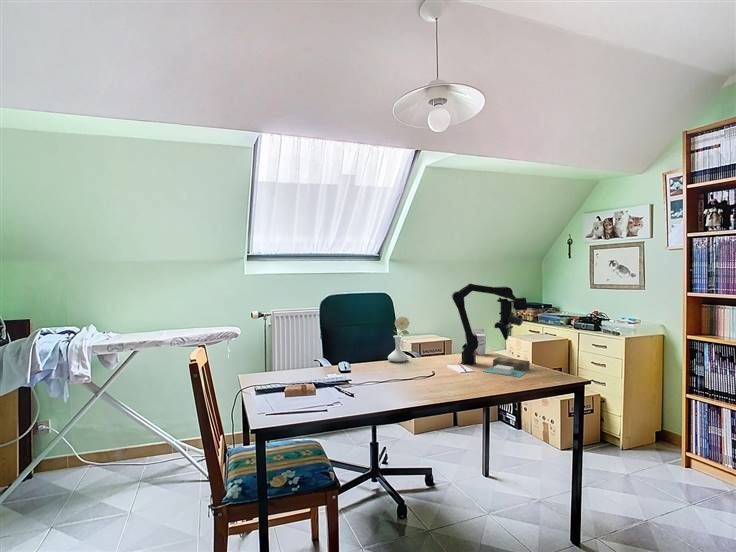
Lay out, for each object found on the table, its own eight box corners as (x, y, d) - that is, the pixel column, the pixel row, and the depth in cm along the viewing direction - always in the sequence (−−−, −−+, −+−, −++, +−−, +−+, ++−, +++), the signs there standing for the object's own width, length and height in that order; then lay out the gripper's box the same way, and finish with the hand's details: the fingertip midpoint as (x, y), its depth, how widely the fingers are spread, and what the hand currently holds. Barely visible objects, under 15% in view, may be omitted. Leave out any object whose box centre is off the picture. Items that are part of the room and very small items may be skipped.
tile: (497, 364, 216) (497, 369, 216) (493, 367, 211) (493, 372, 211) (513, 366, 211) (513, 372, 211) (509, 369, 206) (509, 374, 206)
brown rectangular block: (493, 367, 221) (493, 359, 221) (498, 364, 228) (498, 357, 227) (524, 372, 212) (524, 364, 211) (529, 368, 218) (529, 360, 218)
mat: (482, 371, 213) (482, 371, 213) (491, 367, 222) (491, 366, 222) (519, 377, 202) (519, 376, 202) (526, 372, 211) (526, 371, 211)
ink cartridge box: (470, 355, 251) (470, 329, 251) (469, 353, 256) (469, 328, 256) (485, 355, 250) (485, 330, 250) (484, 353, 255) (484, 328, 255)
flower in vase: (383, 361, 236) (383, 316, 236) (393, 357, 246) (393, 314, 245) (405, 364, 230) (404, 318, 229) (414, 360, 239) (414, 315, 238)
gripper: (515, 313, 215) (515, 344, 215) (526, 309, 230) (526, 338, 230) (494, 311, 222) (494, 342, 222) (506, 308, 236) (506, 336, 237)
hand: (506, 339), depth 228 cm, fingers closed
